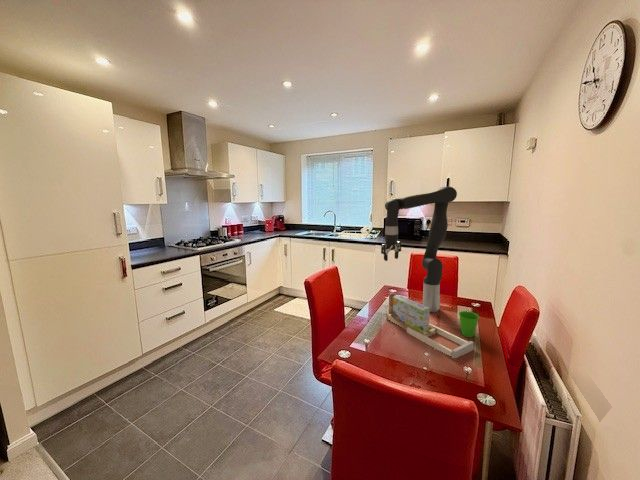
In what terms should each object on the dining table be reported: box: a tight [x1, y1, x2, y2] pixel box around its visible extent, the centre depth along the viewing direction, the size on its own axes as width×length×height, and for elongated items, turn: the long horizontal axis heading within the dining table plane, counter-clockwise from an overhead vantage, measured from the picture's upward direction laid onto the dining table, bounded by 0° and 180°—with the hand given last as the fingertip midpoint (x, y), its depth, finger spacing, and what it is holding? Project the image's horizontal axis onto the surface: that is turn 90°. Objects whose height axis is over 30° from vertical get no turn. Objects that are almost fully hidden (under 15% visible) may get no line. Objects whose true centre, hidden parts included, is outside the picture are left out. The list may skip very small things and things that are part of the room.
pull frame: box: [386, 292, 437, 338], centre depth 145 cm, size 10×28×14 cm, turn 29°
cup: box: [458, 310, 480, 338], centre depth 134 cm, size 9×9×11 cm
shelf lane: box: [406, 322, 474, 359], centre depth 130 cm, size 14×27×4 cm, turn 29°
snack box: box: [393, 294, 431, 333], centre depth 143 cm, size 21×6×15 cm, turn 29°
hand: (391, 259), depth 162 cm, fingers open, 8 cm apart
